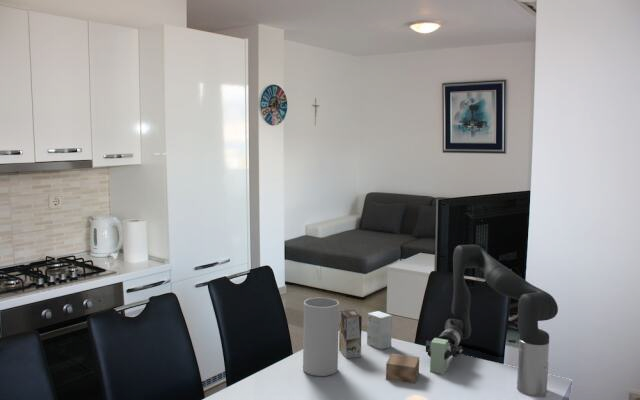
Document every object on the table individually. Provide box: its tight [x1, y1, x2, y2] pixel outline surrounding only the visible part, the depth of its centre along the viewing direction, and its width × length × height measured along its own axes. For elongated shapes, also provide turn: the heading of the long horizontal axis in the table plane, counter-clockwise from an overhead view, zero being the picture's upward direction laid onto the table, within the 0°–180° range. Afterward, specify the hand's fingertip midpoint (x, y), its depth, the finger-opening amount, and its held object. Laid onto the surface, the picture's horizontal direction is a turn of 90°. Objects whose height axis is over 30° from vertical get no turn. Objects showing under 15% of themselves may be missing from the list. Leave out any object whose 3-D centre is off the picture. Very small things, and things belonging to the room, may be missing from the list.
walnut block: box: [385, 353, 420, 385], centre depth 198 cm, size 10×10×6 cm
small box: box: [366, 310, 393, 350], centre depth 228 cm, size 8×6×13 cm
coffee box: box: [338, 309, 363, 359], centre depth 218 cm, size 9×6×16 cm
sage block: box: [429, 337, 448, 375], centre depth 203 cm, size 5×5×11 cm
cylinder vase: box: [302, 297, 340, 377], centre depth 201 cm, size 12×12×25 cm
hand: (437, 355), depth 200 cm, fingers closed on sage block, 5 cm apart
